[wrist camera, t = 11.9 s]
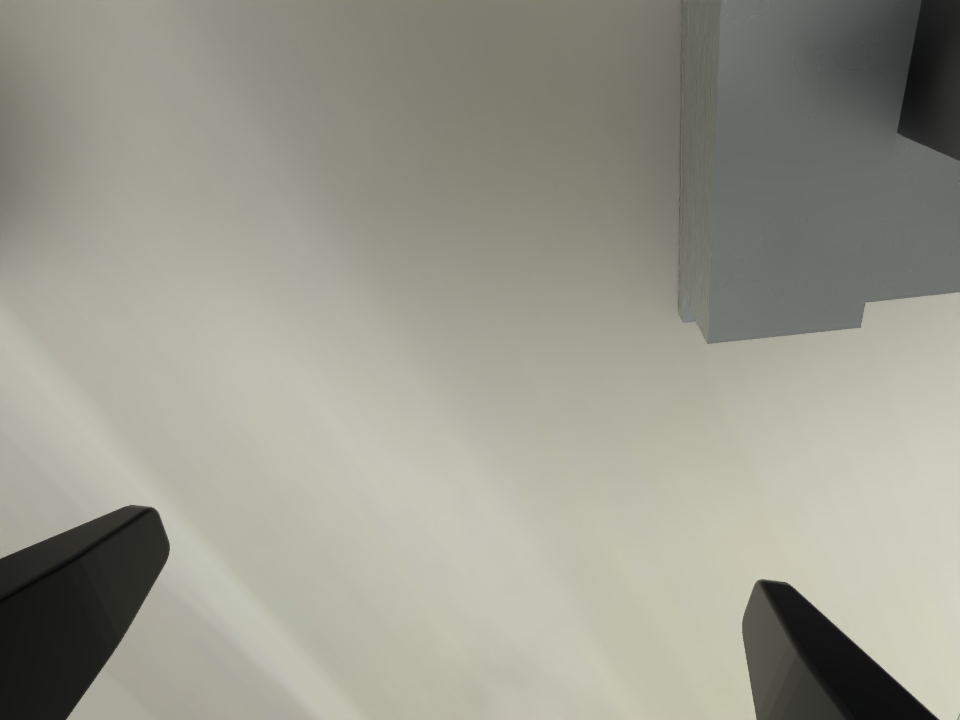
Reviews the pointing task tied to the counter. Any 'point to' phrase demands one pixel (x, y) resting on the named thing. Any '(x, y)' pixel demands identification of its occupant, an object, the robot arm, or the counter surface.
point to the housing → (805, 169)
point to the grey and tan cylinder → (934, 80)
